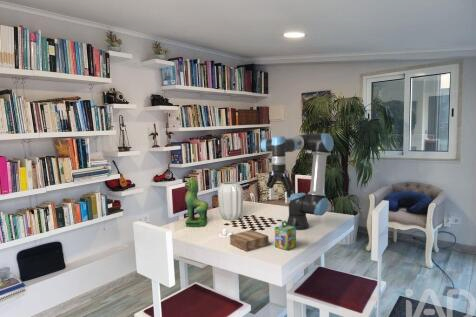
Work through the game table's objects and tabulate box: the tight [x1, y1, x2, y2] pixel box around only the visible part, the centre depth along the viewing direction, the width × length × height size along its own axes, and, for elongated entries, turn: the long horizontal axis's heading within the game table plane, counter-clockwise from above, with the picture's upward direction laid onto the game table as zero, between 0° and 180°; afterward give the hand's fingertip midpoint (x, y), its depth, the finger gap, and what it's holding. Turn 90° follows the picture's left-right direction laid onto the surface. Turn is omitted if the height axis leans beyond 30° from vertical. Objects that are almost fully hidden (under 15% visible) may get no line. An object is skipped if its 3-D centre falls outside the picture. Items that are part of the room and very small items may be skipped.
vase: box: [217, 181, 244, 221], centre depth 256 cm, size 20×20×28 cm
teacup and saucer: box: [218, 228, 233, 238], centre depth 215 cm, size 9×8×4 cm
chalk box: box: [274, 220, 297, 251], centre depth 190 cm, size 9×9×15 cm
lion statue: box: [184, 176, 209, 228], centre depth 240 cm, size 14×17×35 cm
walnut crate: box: [229, 229, 270, 253], centre depth 196 cm, size 16×16×6 cm
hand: (279, 201), depth 189 cm, fingers open, 13 cm apart
